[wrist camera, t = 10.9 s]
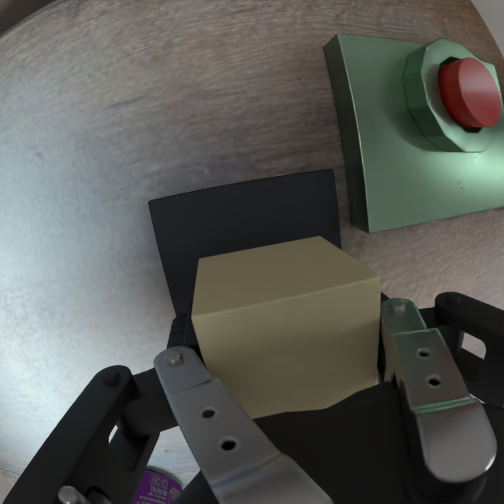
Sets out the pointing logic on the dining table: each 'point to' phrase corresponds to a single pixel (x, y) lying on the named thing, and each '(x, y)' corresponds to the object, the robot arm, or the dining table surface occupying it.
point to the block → (288, 325)
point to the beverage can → (156, 489)
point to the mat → (240, 222)
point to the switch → (470, 93)
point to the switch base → (409, 135)
